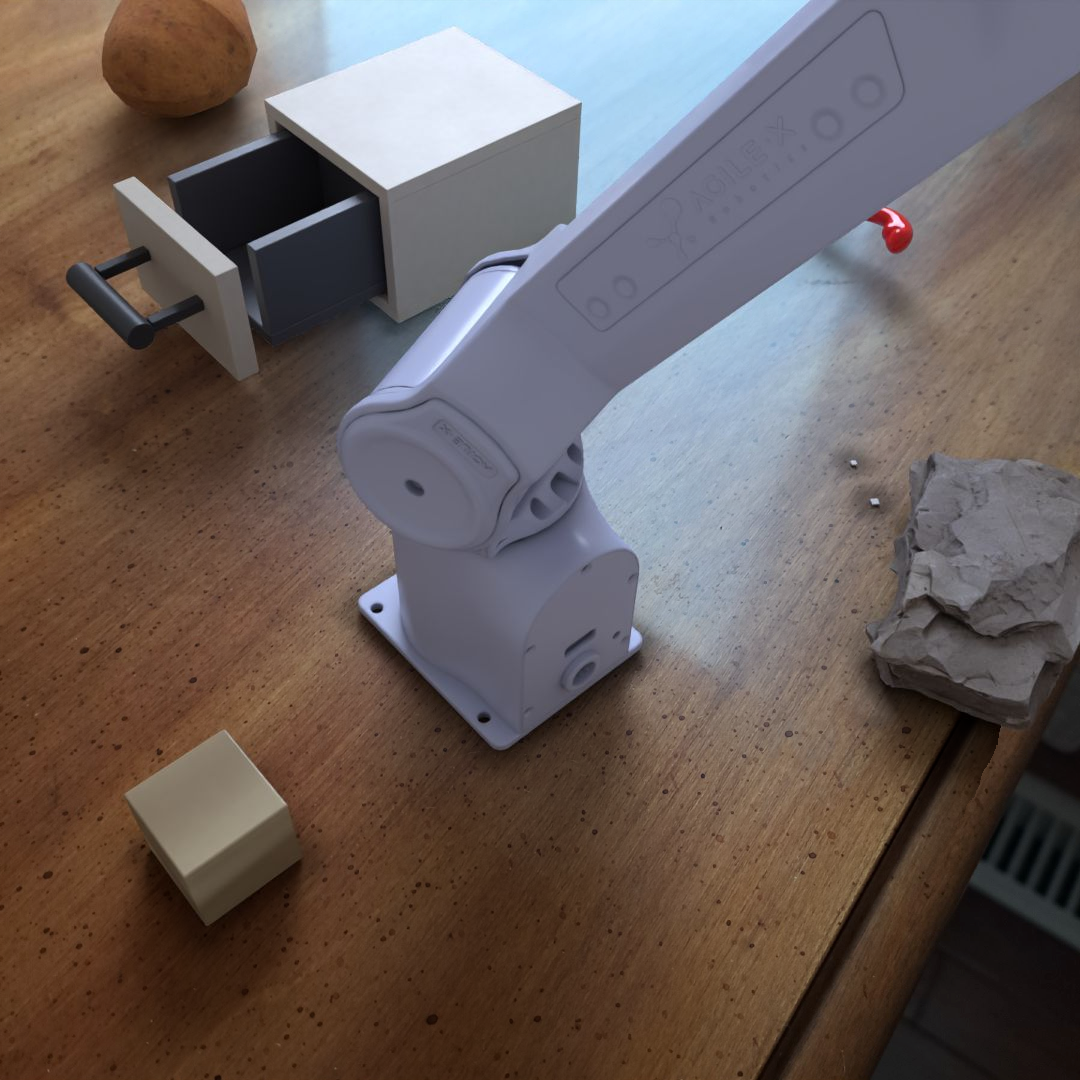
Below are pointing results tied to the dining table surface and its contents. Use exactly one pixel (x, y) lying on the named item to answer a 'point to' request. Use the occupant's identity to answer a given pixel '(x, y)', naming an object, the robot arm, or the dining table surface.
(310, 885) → the dining table surface
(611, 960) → the dining table surface
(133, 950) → the dining table surface
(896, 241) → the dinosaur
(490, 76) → the cabinet
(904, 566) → the rock
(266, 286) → the drawer
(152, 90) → the potato
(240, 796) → the block
